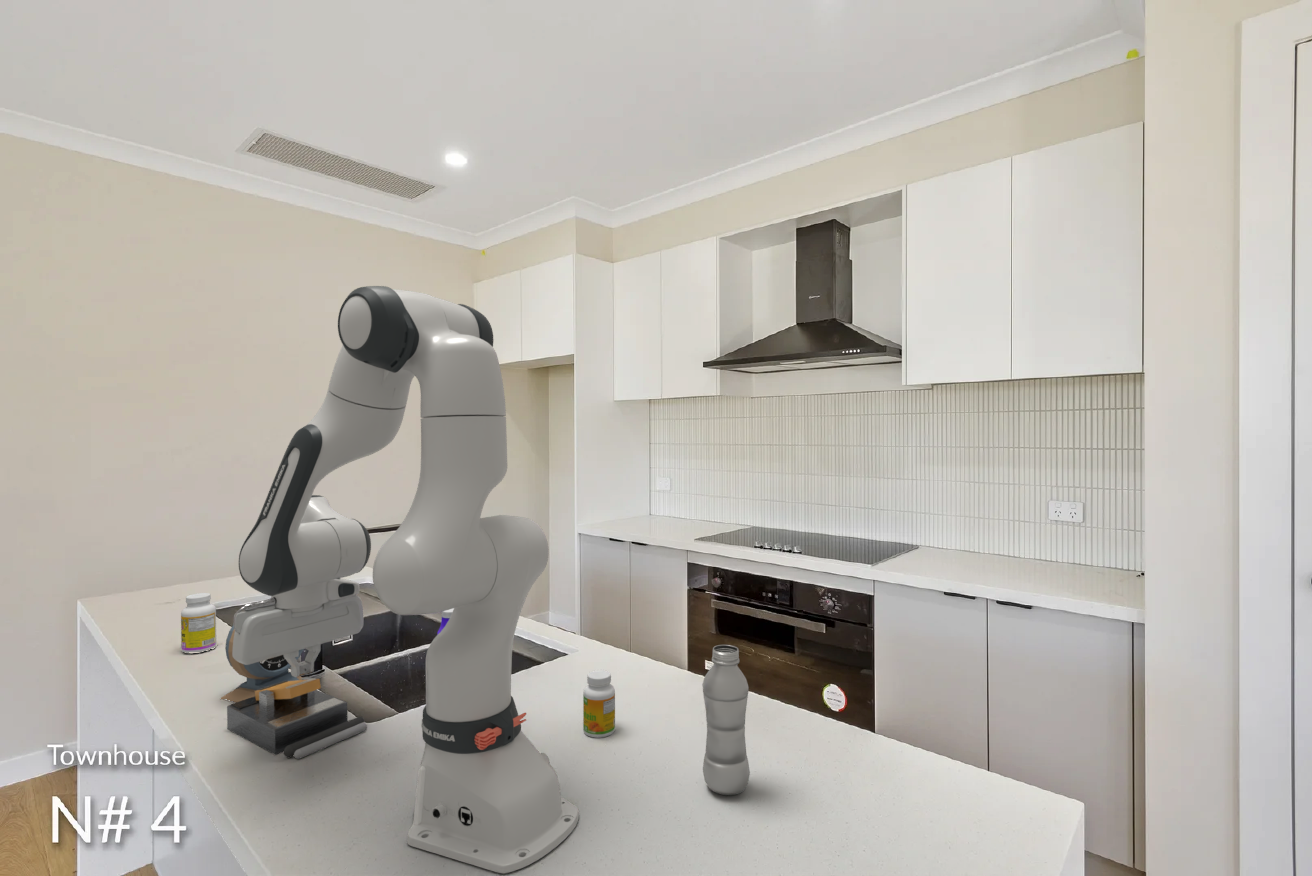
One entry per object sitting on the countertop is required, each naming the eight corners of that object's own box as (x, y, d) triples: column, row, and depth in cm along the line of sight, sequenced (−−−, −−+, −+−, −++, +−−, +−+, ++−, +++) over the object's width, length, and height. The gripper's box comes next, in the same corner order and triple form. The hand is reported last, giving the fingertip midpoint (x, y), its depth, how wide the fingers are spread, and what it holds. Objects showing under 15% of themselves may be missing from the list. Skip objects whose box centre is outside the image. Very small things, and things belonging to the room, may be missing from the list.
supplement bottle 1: (185, 647, 150) (184, 593, 150) (219, 643, 153) (218, 590, 153) (178, 657, 144) (177, 600, 144) (213, 652, 147) (212, 597, 147)
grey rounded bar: (358, 725, 111) (358, 715, 111) (369, 730, 109) (369, 719, 109) (281, 757, 100) (281, 746, 100) (292, 763, 98) (292, 751, 98)
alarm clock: (251, 709, 117) (250, 613, 117) (214, 701, 121) (213, 608, 120) (317, 680, 131) (316, 594, 130) (282, 674, 134) (281, 590, 134)
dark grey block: (347, 725, 111) (347, 683, 111) (275, 755, 101) (274, 709, 100) (298, 703, 119) (298, 665, 119) (227, 729, 109) (226, 687, 109)
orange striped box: (320, 688, 109) (319, 677, 109) (290, 698, 104) (289, 687, 105) (285, 690, 115) (284, 680, 115) (255, 700, 111) (254, 690, 111)
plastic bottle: (738, 807, 86) (738, 660, 86) (694, 792, 90) (694, 651, 90) (757, 784, 92) (757, 646, 92) (714, 771, 95) (714, 638, 95)
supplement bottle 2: (576, 731, 108) (576, 674, 108) (600, 720, 112) (600, 665, 112) (598, 741, 105) (597, 683, 104) (621, 730, 109) (621, 673, 108)
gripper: (243, 609, 96) (244, 700, 97) (368, 582, 114) (368, 659, 114) (224, 603, 100) (224, 691, 100) (348, 577, 117) (348, 652, 117)
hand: (302, 673), depth 107 cm, fingers closed
